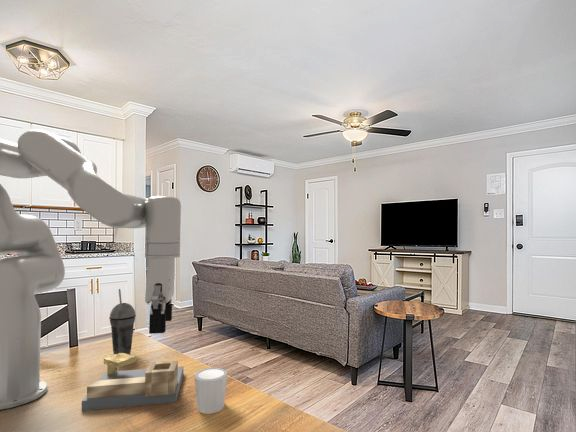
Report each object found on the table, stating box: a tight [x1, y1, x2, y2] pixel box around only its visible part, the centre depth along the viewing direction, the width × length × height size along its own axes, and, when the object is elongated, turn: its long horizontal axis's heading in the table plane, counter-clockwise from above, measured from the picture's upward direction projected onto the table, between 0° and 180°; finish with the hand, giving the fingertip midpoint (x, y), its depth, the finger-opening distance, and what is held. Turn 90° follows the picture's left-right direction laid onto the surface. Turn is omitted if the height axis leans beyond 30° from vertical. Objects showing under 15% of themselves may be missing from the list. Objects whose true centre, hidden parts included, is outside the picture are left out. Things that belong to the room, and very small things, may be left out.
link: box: [86, 360, 179, 398], centre depth 77 cm, size 18×6×5 cm, turn 101°
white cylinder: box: [193, 367, 228, 415], centre depth 75 cm, size 7×7×7 cm
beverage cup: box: [109, 288, 137, 355], centre depth 105 cm, size 7×7×20 cm
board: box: [81, 365, 185, 412], centre depth 82 cm, size 19×15×2 cm
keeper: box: [103, 353, 137, 375], centre depth 86 cm, size 7×5×6 cm
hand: (161, 326), depth 79 cm, fingers open, 9 cm apart
